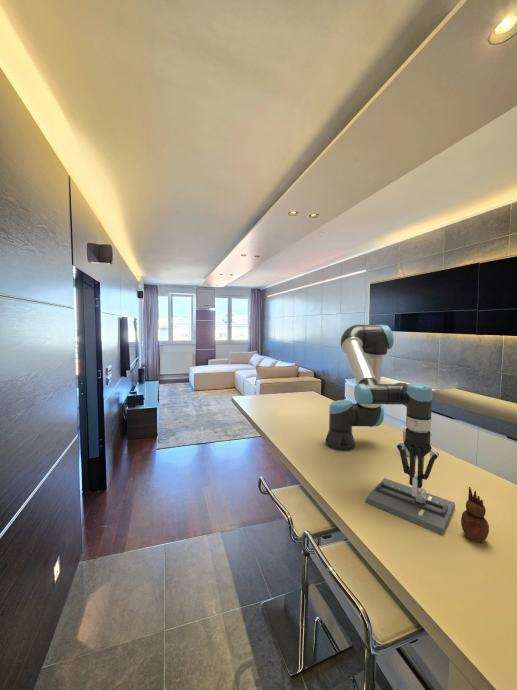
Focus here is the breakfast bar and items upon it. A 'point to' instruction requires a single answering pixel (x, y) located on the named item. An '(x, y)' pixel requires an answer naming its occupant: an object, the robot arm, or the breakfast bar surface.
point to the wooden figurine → (475, 519)
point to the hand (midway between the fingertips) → (415, 495)
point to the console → (412, 505)
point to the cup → (403, 442)
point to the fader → (421, 496)
